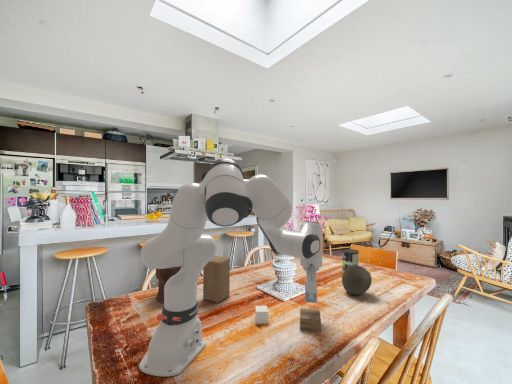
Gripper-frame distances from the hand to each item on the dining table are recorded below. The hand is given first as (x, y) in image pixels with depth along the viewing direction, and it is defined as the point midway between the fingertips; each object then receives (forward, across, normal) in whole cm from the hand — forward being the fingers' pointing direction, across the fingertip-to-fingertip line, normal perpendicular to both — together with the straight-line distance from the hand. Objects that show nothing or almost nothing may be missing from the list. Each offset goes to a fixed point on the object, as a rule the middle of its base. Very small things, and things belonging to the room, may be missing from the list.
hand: (310, 294), depth 98 cm
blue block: (+2, 0, 0) cm, 2 cm away
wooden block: (+13, +16, +46) cm, 51 cm away
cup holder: (+13, +11, +68) cm, 70 cm away
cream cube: (+13, 0, +20) cm, 24 cm away
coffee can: (+13, +73, -28) cm, 79 cm away
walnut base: (+13, 0, 0) cm, 13 cm away
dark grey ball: (+13, +36, -25) cm, 45 cm away
